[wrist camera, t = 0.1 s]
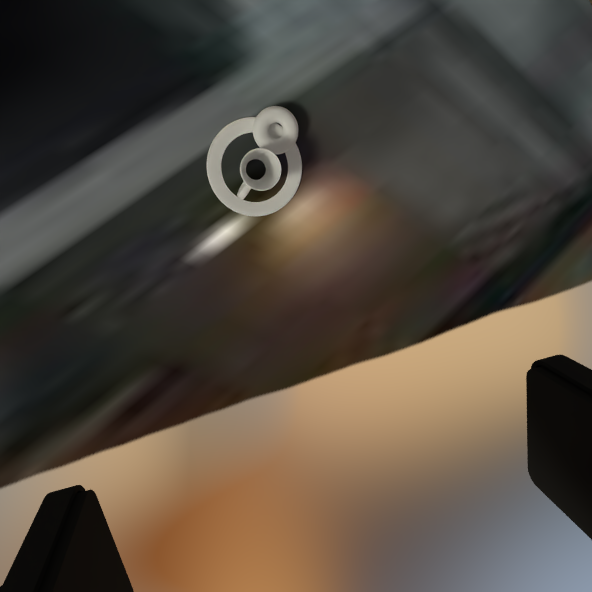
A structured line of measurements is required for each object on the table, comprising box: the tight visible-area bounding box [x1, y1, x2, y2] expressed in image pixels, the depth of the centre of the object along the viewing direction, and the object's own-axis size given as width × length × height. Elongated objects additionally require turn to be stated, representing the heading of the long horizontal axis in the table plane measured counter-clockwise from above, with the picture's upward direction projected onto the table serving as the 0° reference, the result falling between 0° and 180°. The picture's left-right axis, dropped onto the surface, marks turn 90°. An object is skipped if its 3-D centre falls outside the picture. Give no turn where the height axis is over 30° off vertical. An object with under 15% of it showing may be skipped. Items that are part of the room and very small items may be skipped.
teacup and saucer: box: [207, 106, 302, 216], centre depth 36 cm, size 9×8×4 cm
